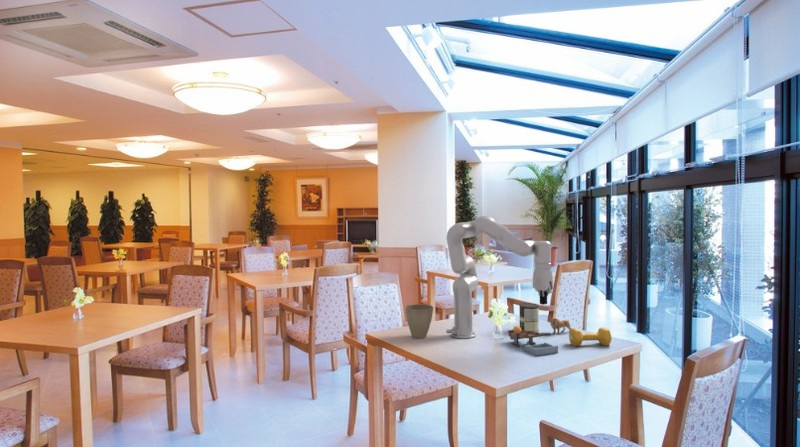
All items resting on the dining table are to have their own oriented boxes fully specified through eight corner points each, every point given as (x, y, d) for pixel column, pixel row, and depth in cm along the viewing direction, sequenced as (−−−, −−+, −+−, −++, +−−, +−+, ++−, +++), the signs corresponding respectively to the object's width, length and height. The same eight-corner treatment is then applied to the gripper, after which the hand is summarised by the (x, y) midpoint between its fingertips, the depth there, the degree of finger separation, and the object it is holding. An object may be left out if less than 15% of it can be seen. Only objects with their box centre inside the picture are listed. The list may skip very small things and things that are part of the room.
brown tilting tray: (509, 339, 240) (508, 330, 240) (531, 336, 245) (530, 327, 246) (527, 341, 226) (526, 331, 227) (551, 338, 231) (550, 328, 232)
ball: (516, 335, 236) (516, 326, 237) (511, 333, 240) (511, 325, 240) (523, 334, 238) (522, 326, 238) (518, 332, 242) (517, 324, 242)
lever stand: (511, 345, 234) (511, 333, 234) (530, 342, 239) (530, 331, 239) (516, 347, 230) (516, 335, 230) (535, 344, 235) (535, 333, 235)
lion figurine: (555, 336, 250) (555, 319, 250) (547, 333, 254) (547, 317, 254) (574, 332, 258) (574, 315, 257) (566, 330, 262) (566, 313, 262)
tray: (524, 350, 225) (524, 343, 225) (544, 347, 229) (544, 340, 229) (537, 356, 216) (537, 349, 216) (558, 352, 220) (558, 346, 220)
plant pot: (412, 342, 241) (412, 310, 241) (400, 335, 255) (400, 305, 255) (438, 338, 247) (438, 308, 247) (425, 332, 261) (425, 303, 261)
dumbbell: (604, 342, 238) (604, 325, 238) (613, 347, 229) (613, 330, 229) (567, 342, 237) (567, 326, 237) (574, 348, 228) (574, 331, 228)
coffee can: (515, 330, 262) (515, 305, 262) (525, 327, 269) (525, 302, 269) (532, 333, 255) (532, 307, 254) (542, 330, 262) (542, 304, 261)
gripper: (526, 265, 236) (527, 302, 237) (547, 268, 222) (547, 307, 223) (539, 264, 239) (539, 301, 239) (559, 267, 225) (560, 306, 226)
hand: (543, 304), depth 231 cm, fingers closed
